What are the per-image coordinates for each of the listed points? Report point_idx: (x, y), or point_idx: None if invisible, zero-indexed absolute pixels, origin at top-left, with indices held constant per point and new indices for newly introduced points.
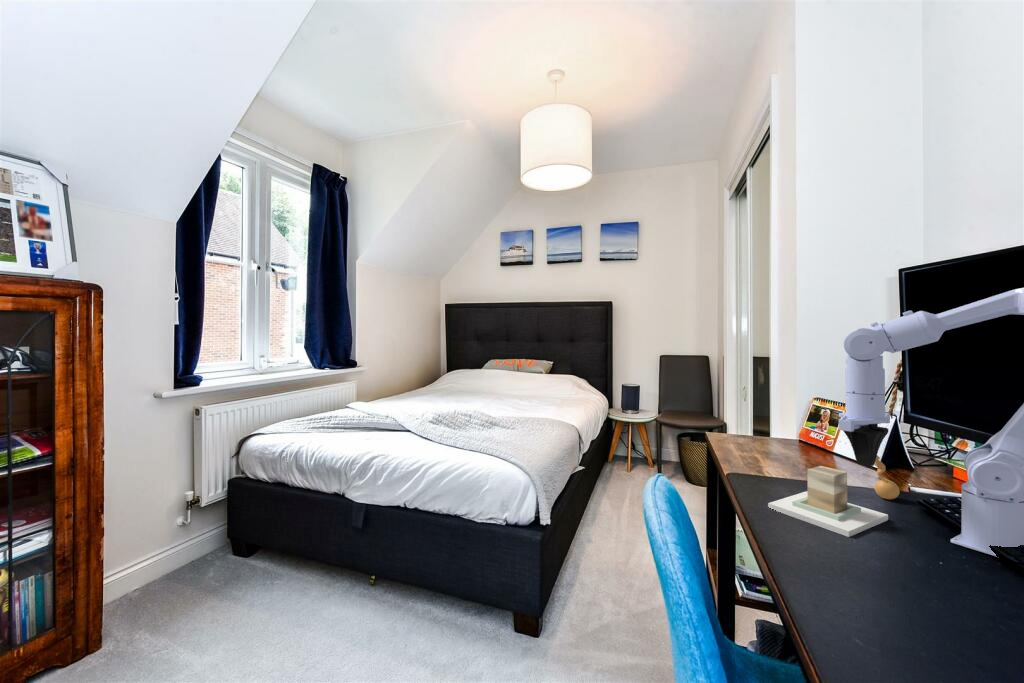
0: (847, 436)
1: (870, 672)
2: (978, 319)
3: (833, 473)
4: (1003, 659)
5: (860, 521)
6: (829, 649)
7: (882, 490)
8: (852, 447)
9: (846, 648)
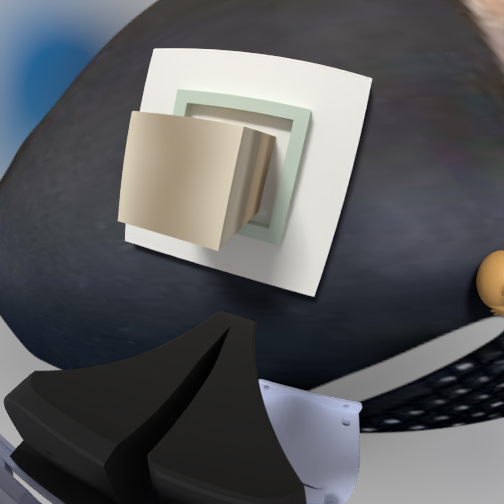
0: (83, 369)
1: None
2: None
3: (150, 210)
4: (37, 355)
5: (202, 250)
6: None
7: (483, 274)
8: (162, 345)
9: None
